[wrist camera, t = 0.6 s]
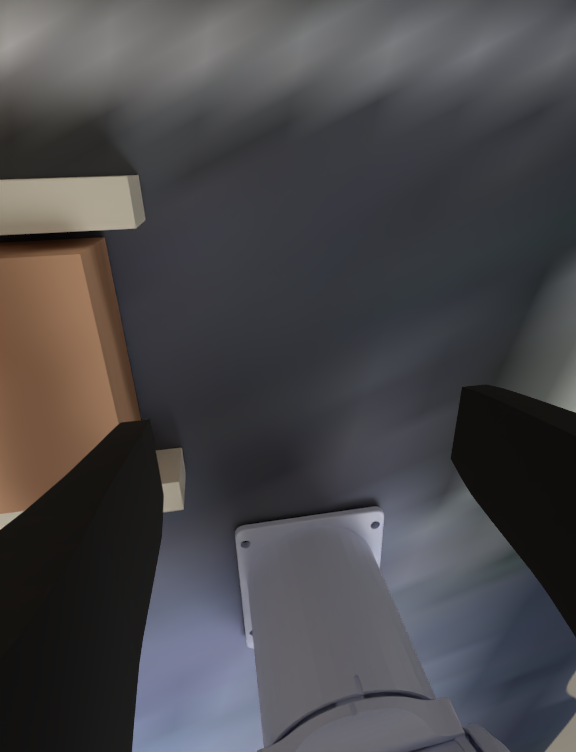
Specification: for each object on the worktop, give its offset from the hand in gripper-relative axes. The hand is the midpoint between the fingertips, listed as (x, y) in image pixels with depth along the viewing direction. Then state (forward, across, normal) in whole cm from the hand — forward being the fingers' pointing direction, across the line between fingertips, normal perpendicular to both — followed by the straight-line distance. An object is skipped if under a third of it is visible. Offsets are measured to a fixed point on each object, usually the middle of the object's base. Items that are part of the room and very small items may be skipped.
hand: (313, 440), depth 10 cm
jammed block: (+9, +8, +1) cm, 12 cm away
